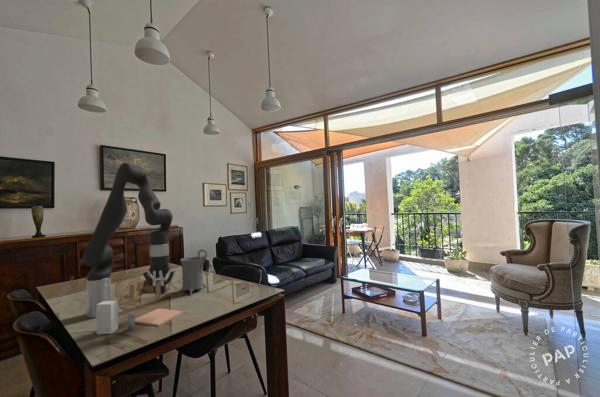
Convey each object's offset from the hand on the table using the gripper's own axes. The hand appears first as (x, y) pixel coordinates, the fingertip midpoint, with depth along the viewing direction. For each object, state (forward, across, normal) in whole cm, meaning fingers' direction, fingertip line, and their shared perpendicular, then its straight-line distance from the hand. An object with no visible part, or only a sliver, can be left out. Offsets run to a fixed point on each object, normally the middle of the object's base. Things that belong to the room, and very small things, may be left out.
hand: (159, 293), depth 115 cm
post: (+13, +9, +5) cm, 16 cm away
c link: (+1, +6, -3) cm, 7 cm away
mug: (+13, 0, -43) cm, 45 cm away
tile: (+13, +4, -6) cm, 14 cm away
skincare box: (+13, +18, +6) cm, 23 cm away
